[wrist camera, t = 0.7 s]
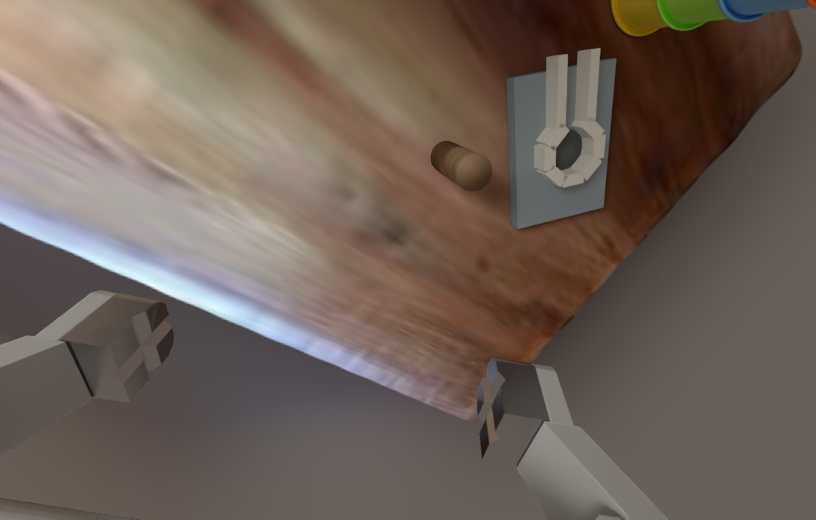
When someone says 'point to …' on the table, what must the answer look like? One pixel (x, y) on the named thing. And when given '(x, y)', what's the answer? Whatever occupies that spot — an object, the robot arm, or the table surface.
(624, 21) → the stacking cups
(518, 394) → the robot arm
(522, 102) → the keyhole board
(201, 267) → the table surface
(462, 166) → the walnut dowel
